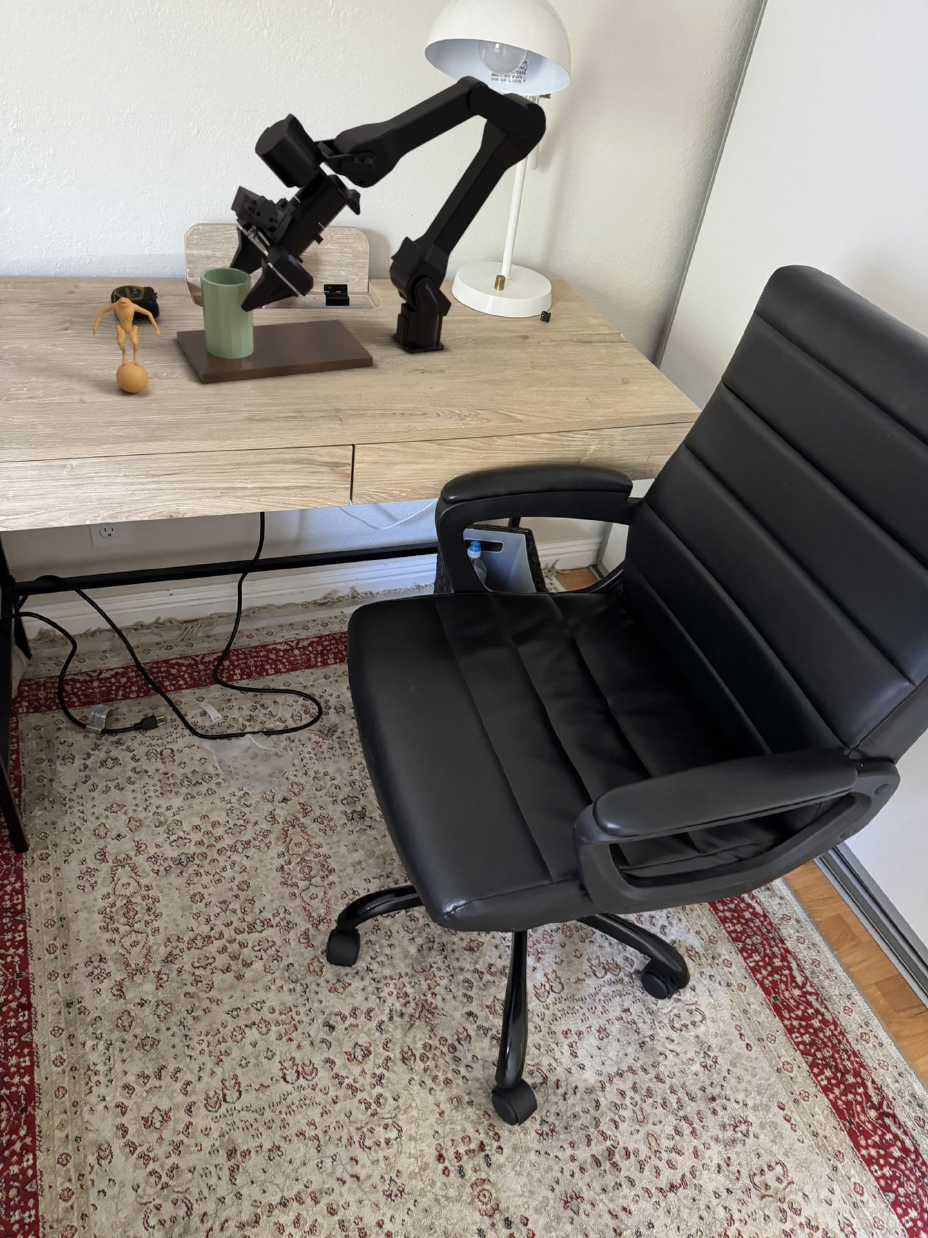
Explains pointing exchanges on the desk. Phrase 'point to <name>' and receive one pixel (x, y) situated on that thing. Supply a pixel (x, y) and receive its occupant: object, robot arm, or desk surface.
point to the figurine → (128, 373)
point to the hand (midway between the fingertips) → (234, 296)
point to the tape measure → (138, 299)
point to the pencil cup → (227, 312)
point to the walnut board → (280, 352)
